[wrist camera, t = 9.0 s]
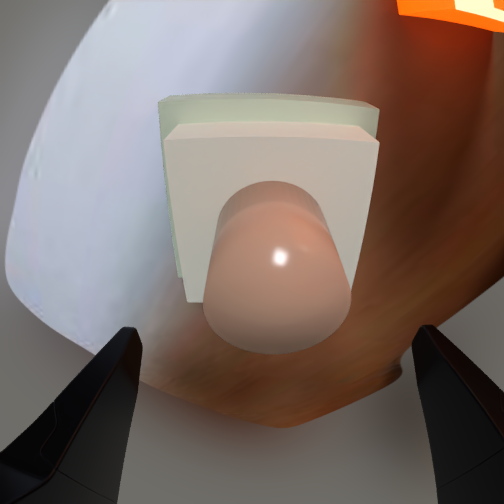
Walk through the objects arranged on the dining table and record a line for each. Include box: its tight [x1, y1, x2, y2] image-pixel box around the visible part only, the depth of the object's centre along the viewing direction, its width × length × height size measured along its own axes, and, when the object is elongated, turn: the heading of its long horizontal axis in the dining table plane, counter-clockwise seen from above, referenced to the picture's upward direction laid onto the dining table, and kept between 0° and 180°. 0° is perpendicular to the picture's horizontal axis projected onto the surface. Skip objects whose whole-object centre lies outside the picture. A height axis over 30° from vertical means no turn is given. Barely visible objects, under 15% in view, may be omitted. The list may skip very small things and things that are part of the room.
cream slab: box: [163, 121, 379, 302], centre depth 16 cm, size 9×9×3 cm
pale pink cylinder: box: [203, 181, 351, 354], centre depth 13 cm, size 5×5×5 cm
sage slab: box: [158, 93, 380, 277], centre depth 18 cm, size 11×11×3 cm
